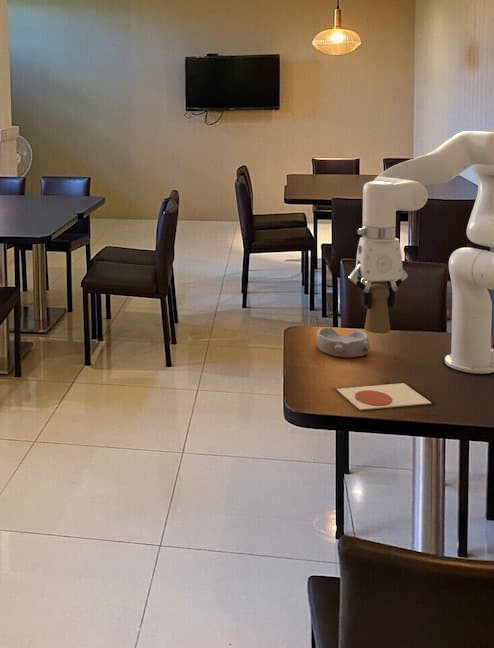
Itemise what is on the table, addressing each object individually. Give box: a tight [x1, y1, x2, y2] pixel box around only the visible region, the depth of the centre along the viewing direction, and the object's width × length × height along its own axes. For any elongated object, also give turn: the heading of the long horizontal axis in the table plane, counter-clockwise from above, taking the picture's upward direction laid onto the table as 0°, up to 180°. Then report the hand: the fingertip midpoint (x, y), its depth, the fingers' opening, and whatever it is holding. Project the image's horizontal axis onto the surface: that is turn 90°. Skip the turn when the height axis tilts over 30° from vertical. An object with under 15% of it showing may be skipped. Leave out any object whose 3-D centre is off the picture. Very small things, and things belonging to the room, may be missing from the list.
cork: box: [364, 283, 391, 334], centre depth 178 cm, size 6×6×11 cm
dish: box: [316, 326, 371, 358], centre depth 208 cm, size 14×14×5 cm
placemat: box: [336, 382, 433, 411], centre depth 177 cm, size 18×12×1 cm, turn 99°
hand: (377, 305), depth 178 cm, fingers closed on cork, 5 cm apart
